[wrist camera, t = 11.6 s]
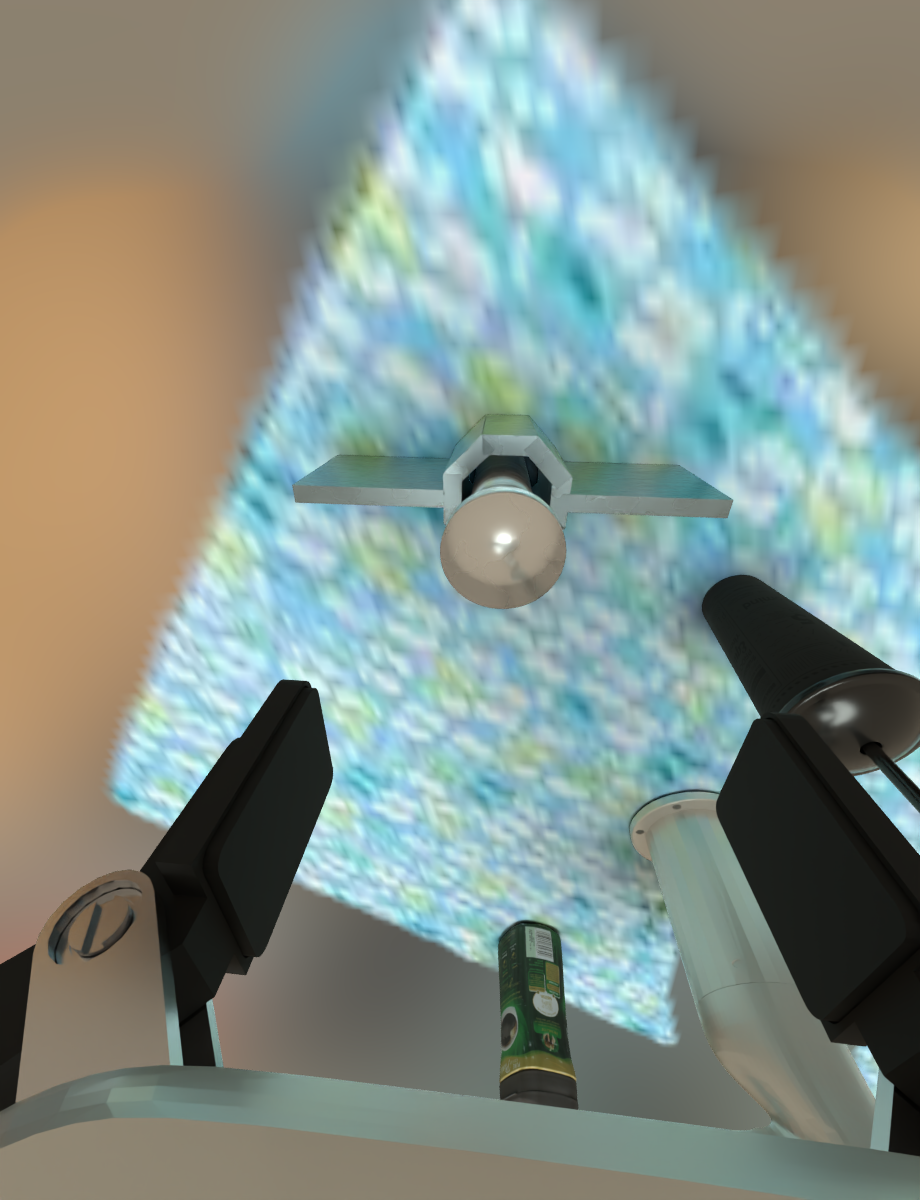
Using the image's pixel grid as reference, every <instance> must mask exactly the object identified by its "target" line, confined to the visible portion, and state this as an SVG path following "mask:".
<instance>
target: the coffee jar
mask: <svg viewBox="0 0 920 1200" xmlns="http://www.w3.org/2000/svg"><path fill="white" fill-rule="evenodd" d="M498 960H499V980H500V1009H501V1065H500V1100H505V1101H513V1102H521V1103H528V1104H536V1105H544V1106H552V1107H559V1108H567V1109H575V1110H578V1102H577V1088H576V1076H575V1071H574V1068H573V1064H572V1060H571V1056H570V1049H569V1042H568V1033H567V1020H566V1008H565V996H564V980H563V962H562V950H561V940H560V937H559V935H558V934H557V933H556V932H554V931H553V930H551V929H550V928H549V927H546V926H544V925H540V924H536V923H535V924H522V923H521V924H518V925H516V926H514V927H513V928H512V929H510V930H509V931H508V932H507V933H506V934H505V935H504V936H503V937H502V939H501V940H500V942H499V945H498Z"/></svg>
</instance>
